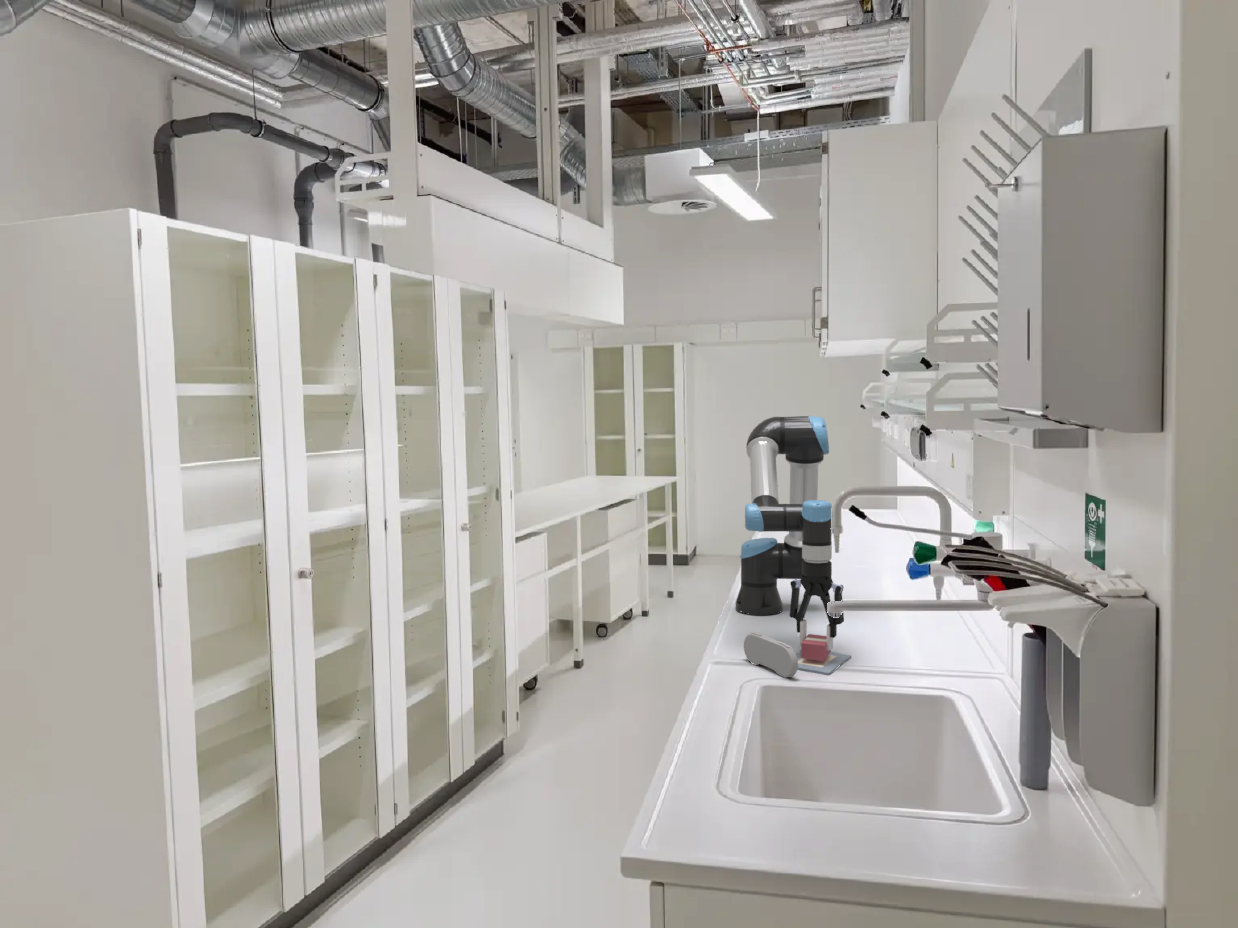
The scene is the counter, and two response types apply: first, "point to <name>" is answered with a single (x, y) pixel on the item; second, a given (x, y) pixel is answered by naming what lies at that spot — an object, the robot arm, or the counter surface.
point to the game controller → (771, 654)
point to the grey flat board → (822, 663)
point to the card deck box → (814, 647)
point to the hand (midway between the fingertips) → (816, 647)
